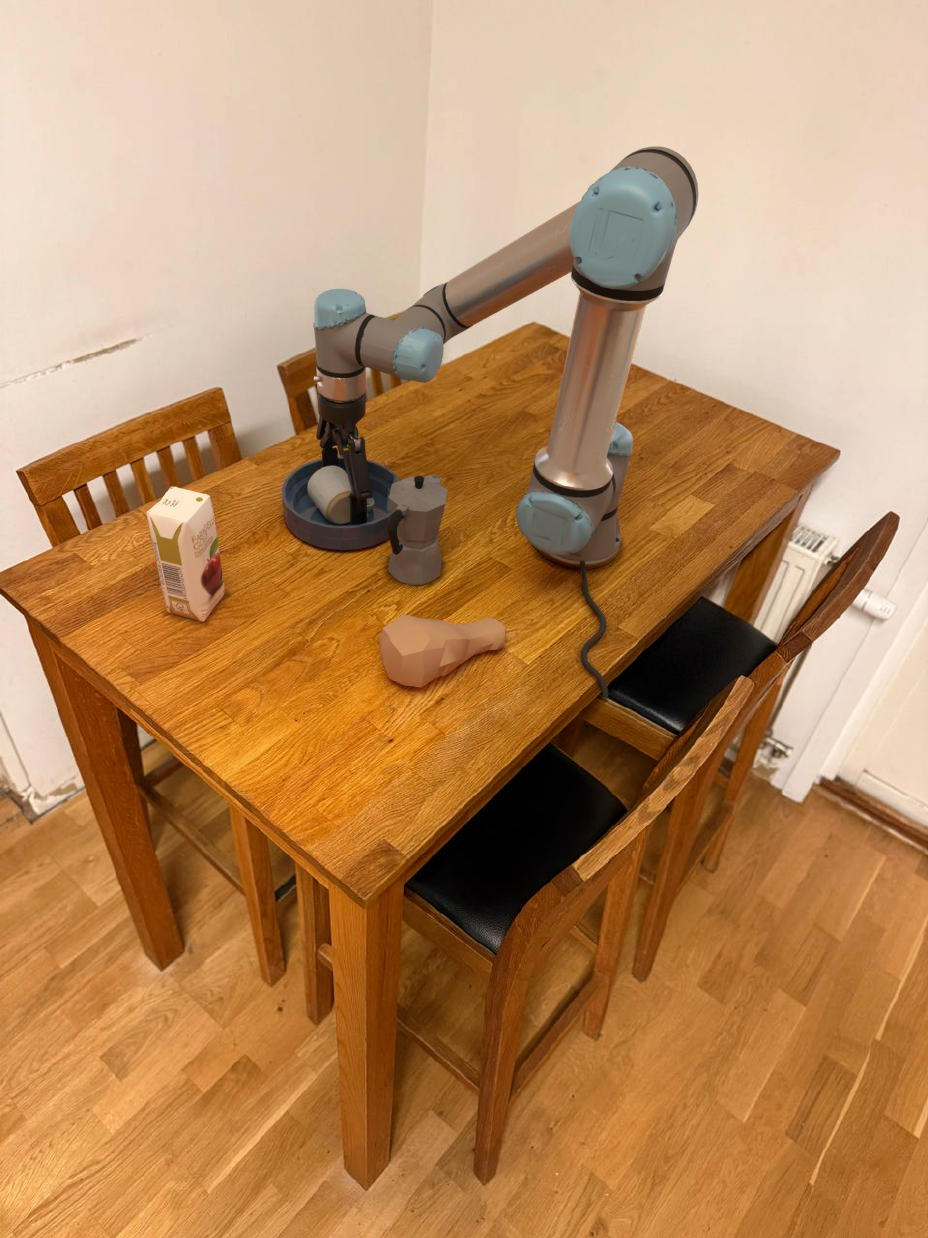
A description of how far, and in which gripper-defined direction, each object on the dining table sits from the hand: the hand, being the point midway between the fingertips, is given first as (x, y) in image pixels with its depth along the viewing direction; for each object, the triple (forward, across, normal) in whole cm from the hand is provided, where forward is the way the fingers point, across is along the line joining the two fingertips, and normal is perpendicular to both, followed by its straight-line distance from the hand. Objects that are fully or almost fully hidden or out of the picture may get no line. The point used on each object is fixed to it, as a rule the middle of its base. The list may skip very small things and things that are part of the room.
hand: (344, 502), depth 153 cm
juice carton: (+3, +13, -29) cm, 32 cm away
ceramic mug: (+2, 0, 0) cm, 2 cm away
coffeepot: (+3, +18, +5) cm, 19 cm away
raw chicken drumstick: (+3, +38, +1) cm, 38 cm away
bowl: (+3, 0, 0) cm, 3 cm away
